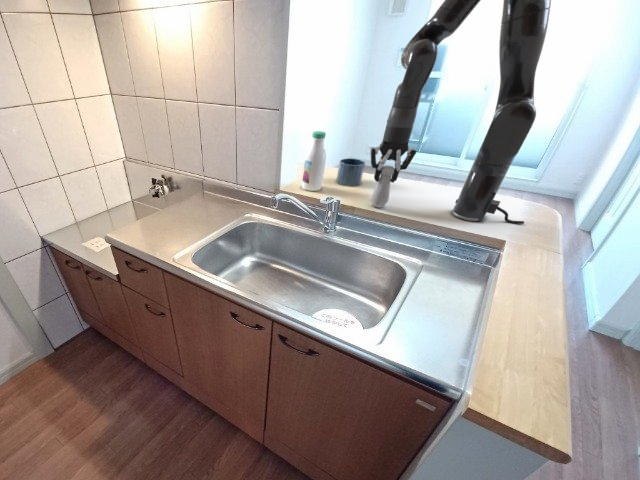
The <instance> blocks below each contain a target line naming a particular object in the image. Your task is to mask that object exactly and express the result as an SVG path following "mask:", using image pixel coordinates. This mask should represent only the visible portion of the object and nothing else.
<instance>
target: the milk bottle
mask: <svg viewBox="0 0 640 480" xmlns="http://www.w3.org/2000/svg"><path fill="white" fill-rule="evenodd" d="M326 135H327V134H326V131H320V130H315V131H313V132H312V135H311V136H312V137H311V143H310V146H309V148H308V150H307V151H306V153H305V159H304V164H303V172H302V180H301V188H302V189H303V190H305V191H309V192H317V191H320V190H321V189H322V187H323V181H324V175H325V168H326V161H327V152H326V147H325V140H326Z"/></svg>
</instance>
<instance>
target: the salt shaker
mask: <svg viewBox="0 0 640 480" xmlns="http://www.w3.org/2000/svg"><path fill="white" fill-rule="evenodd" d="M394 170H395V166H392V165H383V167H382V168H381V174H380V177H379V181H378V182H376V185H375V188H374V190H373V192H372V194H371V197H370V202H371V205H372V206H373V207H375V208H384V207H385V206H386V204H387V203H389V201H390V191H391V177H392V175H393V173H394Z"/></svg>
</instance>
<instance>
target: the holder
mask: <svg viewBox="0 0 640 480" xmlns="http://www.w3.org/2000/svg"><path fill="white" fill-rule="evenodd" d="M365 166H366V162H365V161H364V160H362V159H357V158H342V159H340V160H339V164H338V170H337V175H336V183H337V184H339V185H341V186H343V187H344V186H345V187H356V186H360V185H361V183H362V178H363V175H364V170H365Z"/></svg>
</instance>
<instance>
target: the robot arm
mask: <svg viewBox="0 0 640 480" xmlns="http://www.w3.org/2000/svg"><path fill="white" fill-rule="evenodd" d="M481 1H482V0H444V1H443V2H442V4H440V6H439V7H438V8H437V10H436V11H435V13H434V14H433V15H432V17H431V18H430V19H429V20H428V21H426V23H425V24H424V25H423V26H421V28H420V29H419V30H418V31H417V32H416V33H415V34H414V36H413V37H411V39H410V40H409V41H408V42H407V44H406V45H405V47H404V49H403V51H402V53H401V57H400V64H401V66H402V68H403V69H404V70H406V71H405V73H404V76H403V79H402V82H400V83H399V84H398V85H397V87H396V89H395V93H394V97H393V101H392V105H391V109H390V110H389V114H388V117H387V120H386V125H385V129H384V133H383V137H382V141H381V143H380V144H379V146H375V147H374V146H371V147H370V148H369V151H370V152H369V153H370V165H371V168H372V169H375V172H374V176H373V179H374V181H375V183H378V181H379V178H380V176H381V168H382V167H383V166H385V164H386V162H387V161H394V169H395V170H394V173H393V175H391V182H390V184H394V183H395V182H397V180H398V177H399V175H400V172H401V171H402V170H407V169H408V167H409V165H410V163H411V162H412V160H413V159H414V158H415V156H416V154H417V150H416V149H415V148H410V147H409V142H410V138H411V135H412V131H413V128H414V125H415V121H416V118H417V113H418V109H419V105H420V101H421V98H422V94H423V90H424V88H425V86H426V84H427V82H428V80H429V78H430V76H431V74H432V72H433V70H434V68H435V65H436V62H437V58H438V53H439V52H438V51H439V50H438V46H439V45H440V44H441V43H442V41H444V40H445V39H447V38H449V37H451V36H452V35H453V34H454V33H455V32H456V31H457V30H458V29H459V28H460V26H461V25H462V24H463V23H464V22H465V20H466V19H467V18H468V17H469V16H470V15H471V13H472V12H473V11H474V10H475V8H476V7H477V6H478V5H479V3H480V2H481ZM502 3H503V4H502V14H501V21H500V30H499V41H498V42H499V44H498V61H499V80H500V81H499V89H498V96H497V100H496V106H495V109H494V114H493V117H492V120H491V123H490V125H489V127H488V130H487V132H486V134H485V136H484V138H483V141H482V142H481V145H480V147H479V149H478V151H477V154H476V156H475V159H474V161H473V163H472V166H471V168H470V170H469V172H468V175H467V177H466V178H465V182H464V184H463V186H462V188H461V191H460V193H459V195H458V198H457V199H456V200H455V203H454V204H455V205H454V207H453V208H452V211H451V214H452V215H453V216H454V217H456V218H458V219H461V220H464V221H469V222H479V223H482V222H483V221H484V220H485V218H486V215H487V214H492V215H494V214H495V213H496V211H499V212H500V213H502V214H503V215H504V221H505V222H506V223H509V224H515V225H516V224H519V225H523V224H525V221H524V220H511V219H509V213H508V212H507V210H505V209H503V208H501V207H500V204H501V201H500V200H495V198H496V196H497V193H498V192H499V190H500V187H501V185H502V183H503V182H504V179H505V177H506V175H507V173H508V172H509V169H510V167H511V165H512V163H513V162H514V160H515V158H516V156H517V155H518V153H519V152H520V150H521V148H522V146H523V144H524V142H525V141H526V139H527V137H528V135H529V133H530V131H531V129H532V127H533V126H534V123H535V120H536V117H537V108H536V106H535V79H536V71H537V67H538V64H539V61H540V58H541V55H542V52H543V48H544V44H545V41H546V36H547V31H548V25H549V20H550V13H551V5H552V0H503V2H502ZM379 151H380V154H381V156H380V158H379V160H378V162H377V155H378V153H379ZM405 154H406V157H405V159H404V160H403V161H401V160H402V159H401V158H402V156H403V155H405ZM401 162H402V163H401Z"/></svg>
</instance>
